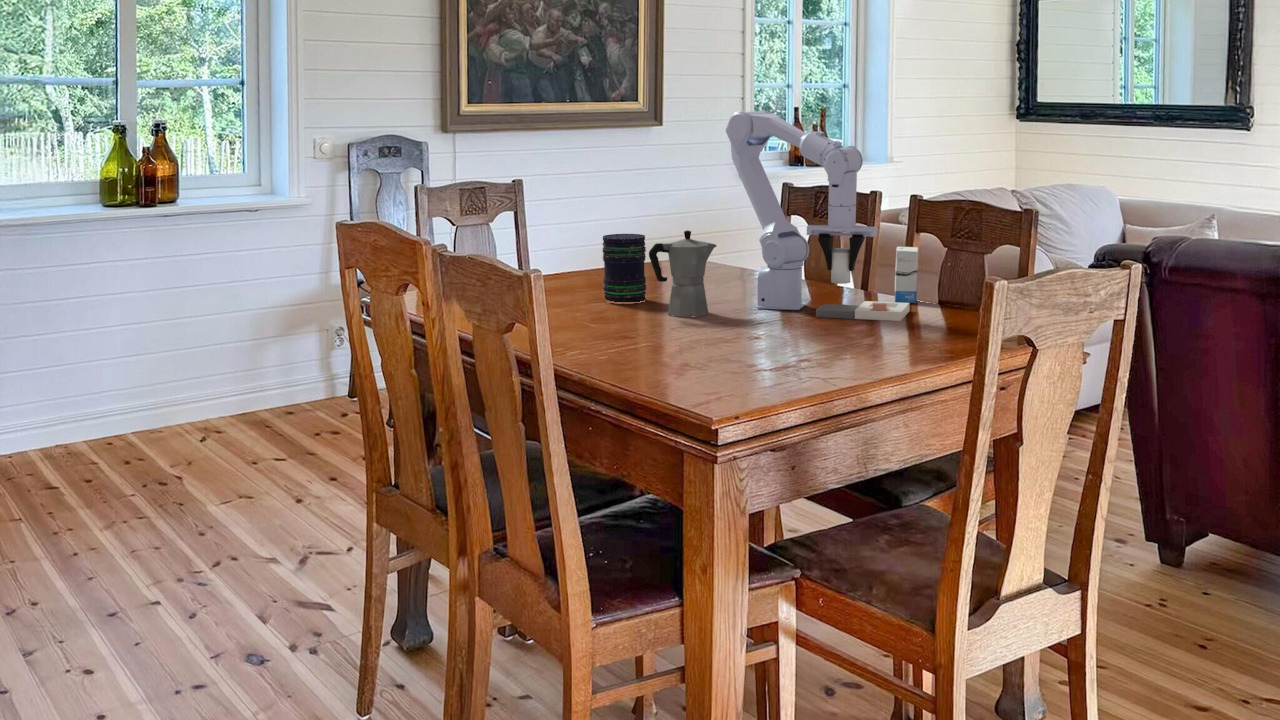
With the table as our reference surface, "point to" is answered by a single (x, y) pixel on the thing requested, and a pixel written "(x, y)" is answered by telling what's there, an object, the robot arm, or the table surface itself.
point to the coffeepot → (685, 274)
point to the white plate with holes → (893, 312)
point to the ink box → (906, 274)
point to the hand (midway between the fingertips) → (840, 269)
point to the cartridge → (840, 266)
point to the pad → (836, 311)
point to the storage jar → (624, 267)
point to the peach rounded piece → (879, 307)
